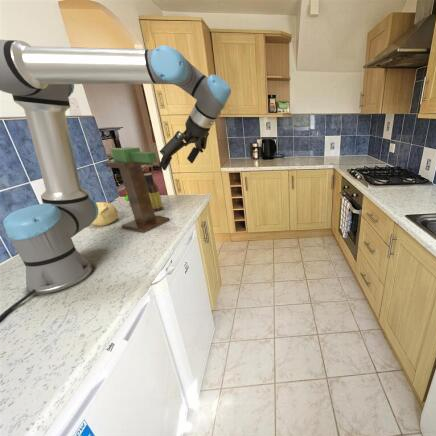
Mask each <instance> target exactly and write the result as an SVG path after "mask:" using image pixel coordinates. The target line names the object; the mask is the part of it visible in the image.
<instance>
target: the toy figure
mask: <svg viewBox="0 0 436 436" xmlns="http://www.w3.org/2000/svg"><path fill="white" fill-rule="evenodd" d="M110 155H111V157H112V159H113V161H115V162H144V163H151V164H152V163H156V162H158V158H157V154H156V152H154V151H153V152H152V151H141V148H140V147H132V146H131V147H130V146H125V147H115V148H114V147H113V148H111V149H110Z"/></svg>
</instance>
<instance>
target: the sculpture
mask: <svg viewBox="0 0 436 436" xmlns="http://www.w3.org/2000/svg"><path fill="white" fill-rule="evenodd" d="M96 204H97V206H98V215H97V218H96V219H95V220H94V221H93V222H92V224H91V225H94V226H97V227H98V226H99V227H100V226H103V227H104V226H107V225H110V224H112V223H114V222H115V221H116V220H117V219H118V217H119V213H118V209H117V208H116V207H115V205H113V204H112V203H109V202H107V201H100V202H99V201H97V202H96Z"/></svg>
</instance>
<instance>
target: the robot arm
mask: <svg viewBox="0 0 436 436" xmlns="http://www.w3.org/2000/svg"><path fill="white" fill-rule="evenodd" d="M75 85H174V86H176V87H178V88H180V89H181V90H182V91H184V92H185V93H187V94H188V95H189V96H191V97H192V98H193V99H195V100H196V102H195V103H194V105H193V107H192V109H191V111H190V113H189V115H188V117H187V119H186V121H185V124H184V125H185V130H184V131H182V132H181V131H180V130H177V131H176V132H175V134H174V136H172V138H171V139H170V140H169V141H168V142H167V143H166V144H165V145H164V146H163V147H162V148H161V149H160V150H159V153H160V154H161V155H162V157H161V158H160V162H159V163H158V166H159V167H160V168H161V169H162V170H163V171H166V170H167V169H168V167H169V165H170V163H171V161H172V159H173V156H174V155H175V154H176V153H178V152H179V151H180V150H181V149H183V148H184V147H187V146H188V145H190V144H194V146H193V147H192V149H191V151H190V152H189V154H188V156H187V157H186V159H187V161H189V163H190V164H194V162H195V160H196V158H197V157H198V155H199V154H200V153H201V154H202V153H204V150H206V148H207V143H208V137H209V136H210V130H211V128H212V127H213V126H214V125H215V121H216V119H217V118H218V117H219V115H220V114H221V112H222V110H223V108H224V107H225V105H226V104H227V102H228V100H229V97H230V96H231V94H232V88H231V86H230V85H229V84H228V82H227V81H225V80H224V79H223V78H221V77H220V76H219V75H216V74H210V75H209V76H206V75H205V74H203V72H201V71H200V70H199V69H198V68H197V67H195V66H194V65H193V64H192V63H191V62H190V61H189V60H188V59H187V58H185V56H184V55H183V54H182V53H181V52H180V51H179V50H177V49H175V48H174V47H172V46H169V45H159V46H157V47H156V48H149V49H147V48H119V47H118V48H116V47H115V48H113V47H76V46H74V47H73V46H36V45H34V46H33V45H31V44H29V43H27V42H26V41H24V40H18V39H16V40H14V39H13V40H12V39H11V40H10V39H0V91H1V92H4V93H6V94H9V95H10V94H11V96H12V99H13V102H14V103H16V104H17V105H18V106H20V107H21V108H22V109H23V110H24V114H25V118H26V123H27V127H28V130H29V133H30V137H31V140H32V144H33V148H34V150H35V155H36V158H37V162H38V163H37V164H38V166H39V170H40V173H41V177H42V181H43V184H44V189H45V191H44V192H43V193H42V194H41V195H40V198H41V202H42V203H39V204H33V205H29V206H27V207H24V208H23V207H22V208H20V209H17V210H15V211H13V212H11V213H9V214H8V215H7V216H5V218H4V219H3V223H2V224H3V227H4V229H5V233H6V236H7V238H8V239H9V240H10V241H11V243H12V245H13V247H14V249H15V250H16V252H17V254H18V256H19V257H20V259H21V261H22V263H23V265H24V266H25V286H26V288H27V290H28V293H27V294H26V295H24V296H23V297H22V298H20V299H19V300H17V302H15V303H14V304H12V305H11V306H10V307H9V308H7V309H6V310H5V311H3V312H2V314H0V321H1V320H2V319H3V318H5V316H7V315H8V314H9V313H11V311H13V310H14V309H15V308H16V307H18V306H19V305H21V304H22V303H23V302H24V301H26V300H27V299H28V298H30V297H31V296H32V295H37V296H38V295H39V296H40V295H41V296H42V295H48V294H53V293H57V292H60V291H63V290H66V289H68V288H71V287H73V286H75V285H77V284H79V283H81V282H83V281H84V280H85V279H86V278H88V277H89V276H90V275H91V273H92V272H93V267H92V264H91V263H90V261H88V260H87V259H86V258H85V257H84V256H83V255H82V254H81V253H80V252H79V251H78V250H77V249H76V246H75V244H74V241H73V239H72V238H73V237H74V236H76V235H78V234H79V233H80V232H81V231H83V230H84V229H86V228H88V227H90V226H91V225H93V224H92V222H93V221H94V220H95V219H96V218H97V215H98V206H97V204H96V203H97V202H96V201H95V200H94V199H93V198H92V197H91V196H89V192H88V191H87V190H85V189H84V188H82V185H81V181H80V177H79V171H78V167H77V162H76V159H75V154H74V149H73V144H72V139H71V135H70V130H69V129H70V128H69V125H68V120H67V116H66V112H67V111H68V110H70V108H71V103H70V99H69V97H71V95H72V94H73V93H74V90H75Z"/></svg>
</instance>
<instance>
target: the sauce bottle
mask: <svg viewBox="0 0 436 436" xmlns="http://www.w3.org/2000/svg"><path fill="white" fill-rule="evenodd" d="M143 174H144V177H145V181H146V185H147V188H148V192H149V196H150V200H151V203H152V207H153V211H154V212H158V211H161V210H163V209H164V206H163V201H162V197H161V193H160V189H159V186H158V184H157V183H156V182H155V180H154V176H153V173H150V172H149V173H143Z"/></svg>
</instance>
